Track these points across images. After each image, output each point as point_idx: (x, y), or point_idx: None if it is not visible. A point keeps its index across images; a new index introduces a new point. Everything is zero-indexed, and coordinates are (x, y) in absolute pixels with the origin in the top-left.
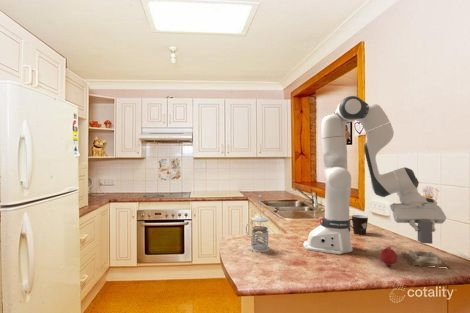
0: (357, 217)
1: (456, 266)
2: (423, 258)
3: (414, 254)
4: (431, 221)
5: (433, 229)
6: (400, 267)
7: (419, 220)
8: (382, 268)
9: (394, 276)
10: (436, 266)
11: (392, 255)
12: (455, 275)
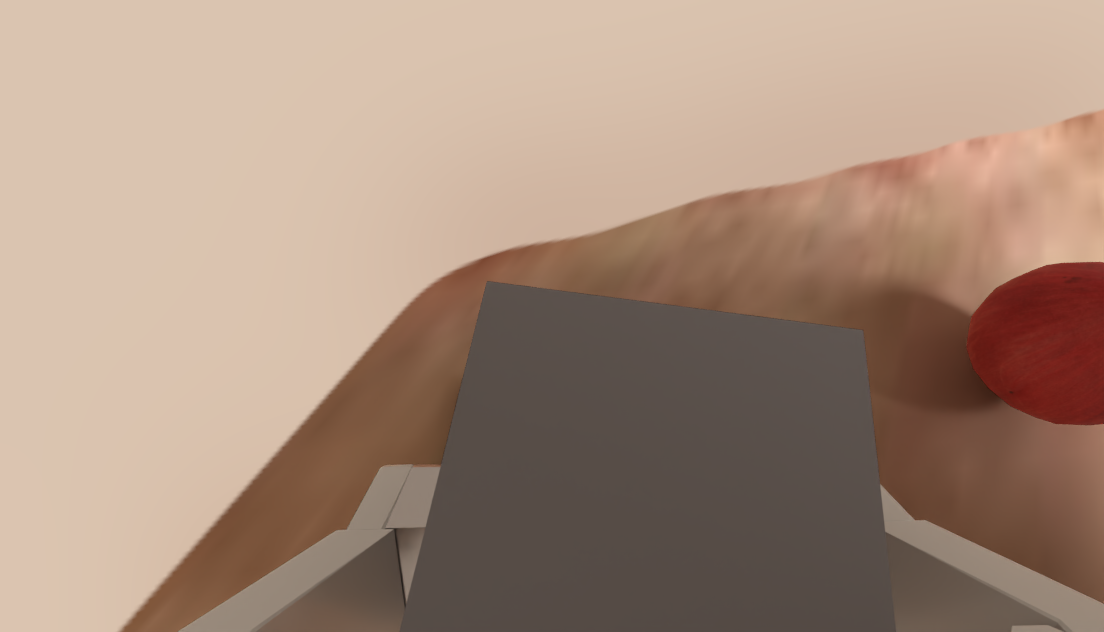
0: None
1: (347, 462)
2: None
3: None
4: (488, 315)
5: (434, 465)
6: (892, 363)
7: (877, 522)
8: None
9: (967, 191)
10: None
11: (1060, 264)
12: (512, 262)
